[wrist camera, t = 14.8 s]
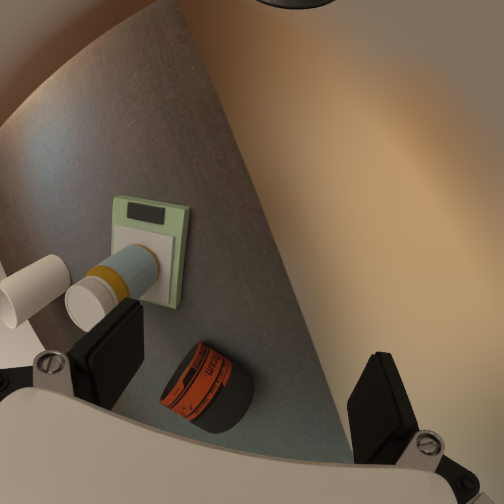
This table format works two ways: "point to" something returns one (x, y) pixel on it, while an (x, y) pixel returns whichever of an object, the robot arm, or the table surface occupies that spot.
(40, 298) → the cup
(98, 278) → the bottle
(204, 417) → the oil filter
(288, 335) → the table surface
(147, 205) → the scale
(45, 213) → the table surface
